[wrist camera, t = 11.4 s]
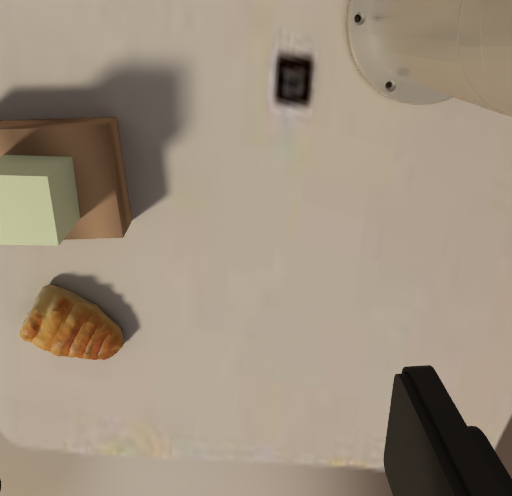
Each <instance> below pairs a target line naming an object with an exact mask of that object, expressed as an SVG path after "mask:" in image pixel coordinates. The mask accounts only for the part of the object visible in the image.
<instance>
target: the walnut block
mask: <svg viewBox="0 0 512 496" xmlns="http://www.w3.org/2000/svg"><path fill="white" fill-rule="evenodd" d="M2 155H26V156H58V157H72V160H73V167H74V174H75V182H76V189H77V197H78V204H79V211H80V220H79V221H78V222H77V224H76V225H75V226H74V227H73V228H72V230H71V231H70V232H69V233H68V235H67V236H66V237H65V238H64V240H67V239H96V238H123V237H124V235H125V233H126V231H127V229H128V227H129V225H130V224H131V222H132V216H131V209H130V203H129V196H128V190H127V183H126V177H125V171H124V164H123V158H122V151H121V145H120V138H119V132H118V125H117V119H116V117H103V118H67V119H32V120H0V157H1V156H2Z"/></svg>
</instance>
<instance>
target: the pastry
mask: <svg viewBox="0 0 512 496" xmlns="http://www.w3.org/2000/svg"><path fill="white" fill-rule="evenodd" d="M20 336H21V338H22V339H23V340H24V341H29V342H31V343H33V344H34V345H36V346H38V347H39V348H41V349H43V350H47V351H50V352H51V353H53V354H54V355H57V356H67V357H78V358H84V359H93V360H97V359H103V360H105V359H107V358H110V357H112V356H113V355H114V354H116V353H117V352H118V351H119V349H120V348H122V346H123V344H124V340H123V336H122V331H121V329H120V327H119V326H118V325H117V324H116V323H115V322H113V321H112V320H110V318H109V317H108V316H107V315H106V314H105V313H103V312H102V310H101V309H100V307H99V306H98V305H96V304H95V303H90V302H89V301H88V300H86V299H84V298H82V297H80V296H78V295H77V294H75V293H73V292H71V291H69V290H66V289H65V288H62V287H58V286H56V285H46V286H44V287H43V288H42V290H41V291H40V293H39V294H38V296H37V298H36V302H35V304H34V307H33V309H32V310H31V311H30V312H29V313H28V314H27V316H26V318H25V320H24V323H23V326H22V330H21V331H20Z"/></svg>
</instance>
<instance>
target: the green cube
mask: <svg viewBox="0 0 512 496" xmlns="http://www.w3.org/2000/svg"><path fill="white" fill-rule="evenodd" d="M79 220H80V211H79V204H78V197H77V189H76V182H75V174H74V167H73V160H72V157H58V156H26V155H2V156H1V157H0V244H7V245H55V246H59V244H60V243H61V242H62V241H63V240H64V238H65V237H66V236H67V235H68V233H69V232H70V231H71V230H72V228H73V227H74V226H75V225H76V224H77V222H78V221H79Z"/></svg>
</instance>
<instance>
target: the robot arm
mask: <svg viewBox="0 0 512 496" xmlns="http://www.w3.org/2000/svg"><path fill="white" fill-rule="evenodd" d="M356 15H359V16H360V21H359V22H355V20H354V18H355V16H356ZM346 30H347V41H348V45H349V49H350V53H351V56H352V59H353V61H354V63H355V65H356V67H357V69H358V71H359V72H360V74H361V75H362V76H363V77H364V79H365V80H366V81H367V83H368V84H370V85H371V86H372V87H373V88H374V89H376V90H377V91H378V92H379V93H381V94H383V95H385V96H386V97H388V98H391V99H393V100H396V101H399V102H401V103H407V104H413V105H424V104H434V103H438V102H442V101H446V100H448V99H451V98H453V97H454V98H457V99H460V100H463V101H466V102H469V103H472V104H475V105H477V106H480V107H483V108H486V109H489V110H492V111H495V112H498V113H501V114H505V115H508V116H511V117H512V0H349V2H348V6H347V17H346ZM387 82H390V87H389V88H386V87H385V85H386V83H387ZM384 467H385V472H386V476H387V478H388V482H389V484H390V488H391V491H392V493H393V496H512V479H511V477H510V475H509V474H508V472H507V470H506V469H505V467H504V466H503V464H502V462H501V461H500V459H499V457H498V456H497V454H496V452H495V451H494V449H493V447H492V446H491V444H490V442H489V441H488V439H487V437H486V436H485V435H484V433H483V432H482V431H481V430H480V429H479V428H478V427H475V426H467V425H466V423H465V422H464V420H463V418H462V416H461V415H460V413H459V411H458V410H457V408H456V406H455V404H454V403H453V401H452V399H451V397H450V396H449V394H448V392H447V390H446V389H445V387H444V385H443V383H442V382H441V380H440V378H439V376H438V375H437V373H436V371H435V370H434V368H433V367H432V366H430V365H429V366H411V367H404V368H403V370H402V374H396V375H395V377H394V383H393V391H392V398H391V406H390V413H389V421H388V428H387V436H386V444H385V451H384ZM0 490H1V481H0Z"/></svg>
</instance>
